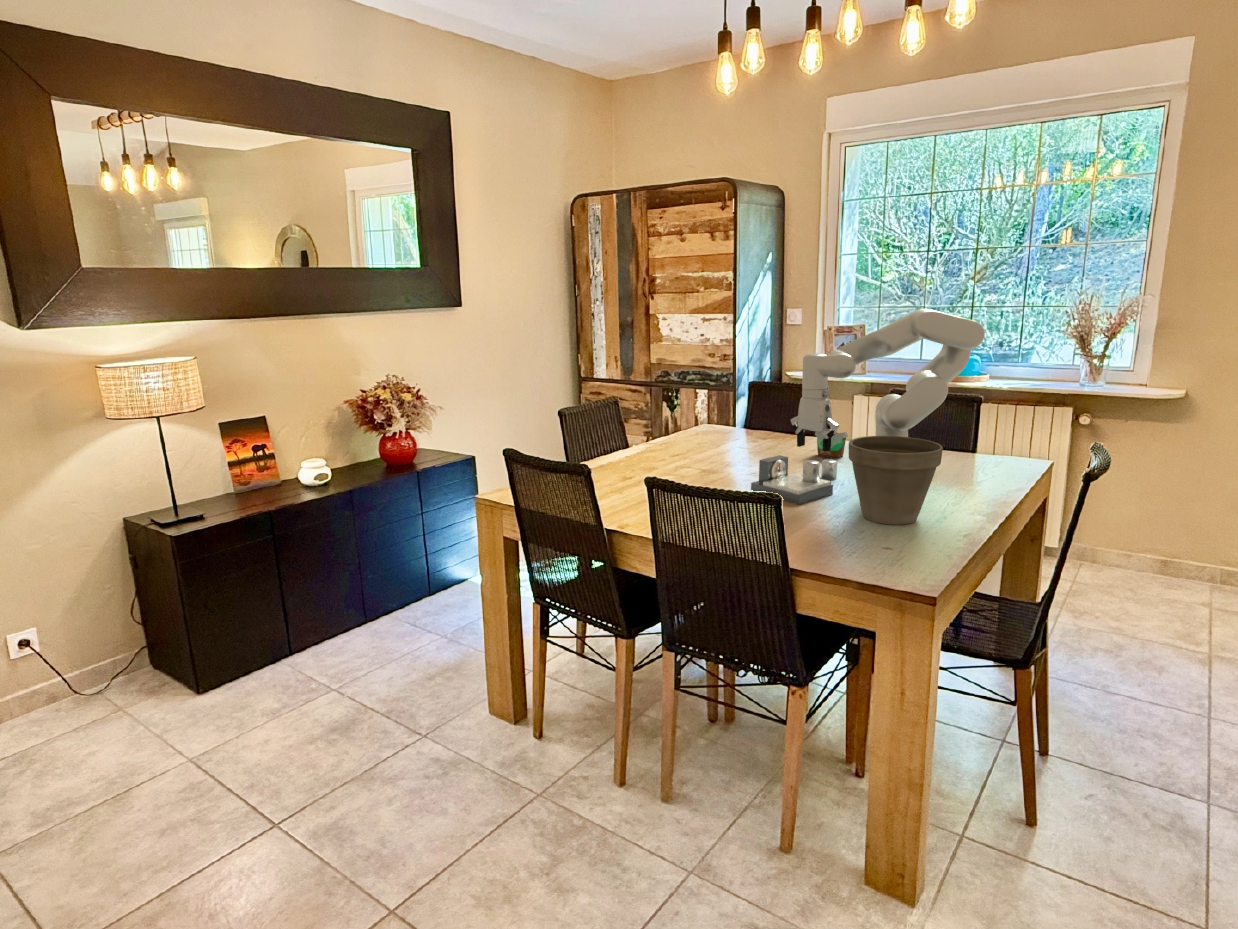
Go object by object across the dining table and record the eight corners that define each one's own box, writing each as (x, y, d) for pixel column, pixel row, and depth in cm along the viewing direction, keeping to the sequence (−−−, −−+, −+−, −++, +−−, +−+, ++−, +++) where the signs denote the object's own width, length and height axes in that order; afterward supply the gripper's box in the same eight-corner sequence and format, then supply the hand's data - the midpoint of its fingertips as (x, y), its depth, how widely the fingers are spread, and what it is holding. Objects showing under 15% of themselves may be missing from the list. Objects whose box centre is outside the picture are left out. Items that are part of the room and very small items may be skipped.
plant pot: (864, 499, 231) (868, 430, 226) (947, 514, 216) (954, 440, 211) (830, 520, 213) (834, 445, 207) (918, 537, 197) (925, 457, 192)
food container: (810, 457, 285) (811, 431, 283) (814, 454, 291) (815, 428, 288) (843, 460, 280) (845, 434, 277) (846, 457, 285) (848, 431, 283)
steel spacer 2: (839, 478, 256) (840, 461, 255) (830, 480, 253) (831, 463, 251) (827, 475, 260) (828, 458, 258) (818, 478, 257) (819, 461, 255)
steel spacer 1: (822, 480, 237) (823, 462, 236) (812, 483, 234) (813, 465, 233) (809, 477, 241) (810, 459, 240) (799, 480, 238) (800, 462, 237)
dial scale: (832, 494, 237) (834, 463, 235) (798, 504, 227) (800, 472, 225) (784, 482, 252) (785, 453, 249) (750, 491, 241) (751, 461, 239)
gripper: (846, 395, 227) (844, 450, 231) (799, 390, 240) (798, 442, 244) (831, 398, 222) (829, 454, 226) (784, 393, 235) (783, 446, 239)
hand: (813, 448), depth 235 cm, fingers open, 9 cm apart
